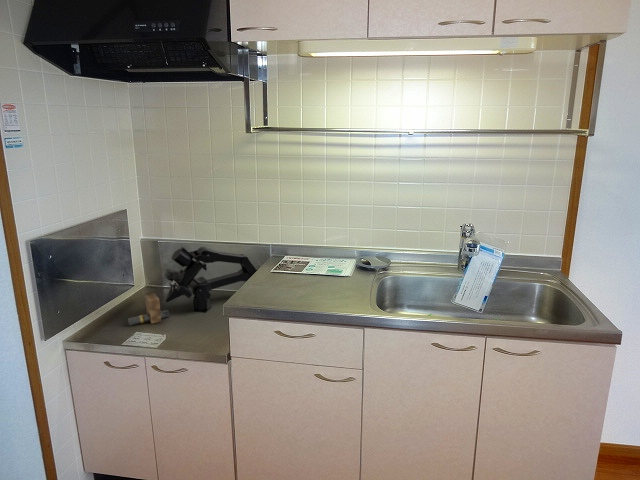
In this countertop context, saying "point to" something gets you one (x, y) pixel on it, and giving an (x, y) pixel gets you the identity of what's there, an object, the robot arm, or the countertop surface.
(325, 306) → the countertop surface
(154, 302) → the rectangular wooden block
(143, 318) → the steel pipe
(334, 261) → the countertop surface
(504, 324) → the countertop surface
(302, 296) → the countertop surface
